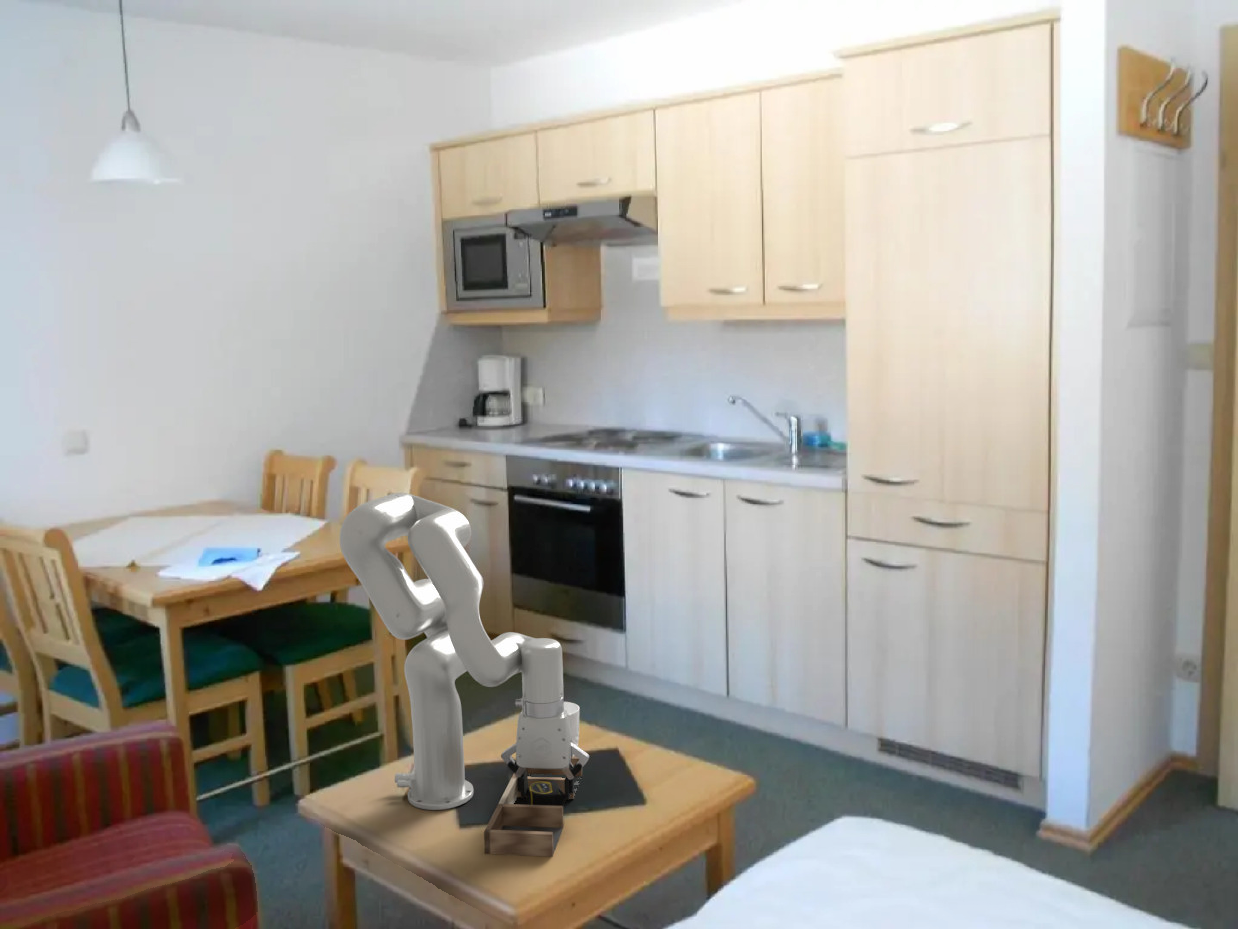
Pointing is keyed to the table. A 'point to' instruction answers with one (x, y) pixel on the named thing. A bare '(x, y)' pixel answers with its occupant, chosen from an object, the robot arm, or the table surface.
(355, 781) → the table surface
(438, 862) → the table surface
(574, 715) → the white cup
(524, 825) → the wooden wall shelf
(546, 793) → the tape measure
